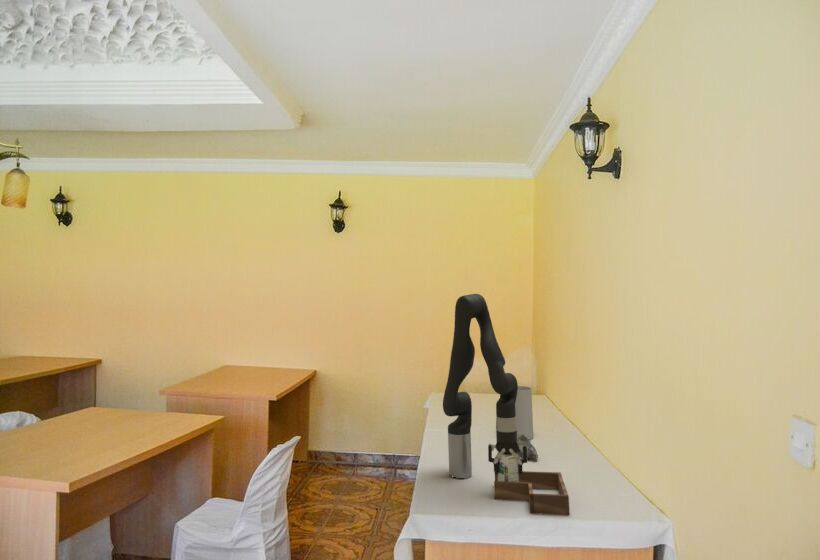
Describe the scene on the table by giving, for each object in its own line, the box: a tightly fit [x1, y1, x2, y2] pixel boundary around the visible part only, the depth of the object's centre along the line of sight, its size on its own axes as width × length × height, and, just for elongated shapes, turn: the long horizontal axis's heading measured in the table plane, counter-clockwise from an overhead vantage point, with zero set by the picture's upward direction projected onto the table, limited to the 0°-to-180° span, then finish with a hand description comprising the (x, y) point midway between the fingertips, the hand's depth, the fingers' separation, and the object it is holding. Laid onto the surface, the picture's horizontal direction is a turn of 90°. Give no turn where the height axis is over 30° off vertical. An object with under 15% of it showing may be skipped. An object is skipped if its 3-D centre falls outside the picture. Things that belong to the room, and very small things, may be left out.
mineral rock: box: [516, 434, 539, 459], centre depth 222 cm, size 13×11×10 cm
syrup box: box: [496, 452, 519, 482], centre depth 182 cm, size 6×6×14 cm
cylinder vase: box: [515, 385, 534, 441], centre depth 253 cm, size 12×12×25 cm
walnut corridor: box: [493, 470, 570, 516], centre depth 176 cm, size 22×24×6 cm
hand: (508, 473), depth 182 cm, fingers closed on syrup box, 7 cm apart
